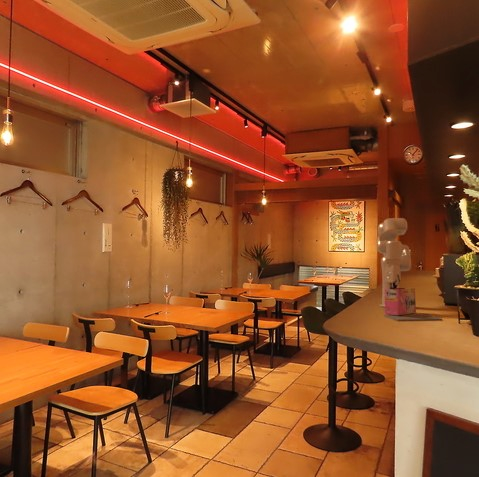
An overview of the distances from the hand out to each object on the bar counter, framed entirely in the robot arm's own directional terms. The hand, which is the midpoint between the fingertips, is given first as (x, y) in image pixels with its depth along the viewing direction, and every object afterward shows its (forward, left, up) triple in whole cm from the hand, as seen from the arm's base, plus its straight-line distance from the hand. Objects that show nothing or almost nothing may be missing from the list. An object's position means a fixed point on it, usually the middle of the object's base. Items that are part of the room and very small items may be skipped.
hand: (393, 294), depth 233 cm
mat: (+20, 0, -10) cm, 22 cm away
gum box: (+9, 0, -10) cm, 13 cm away
